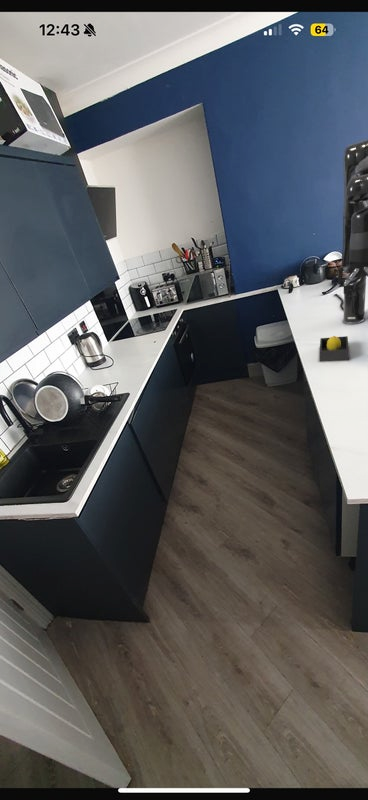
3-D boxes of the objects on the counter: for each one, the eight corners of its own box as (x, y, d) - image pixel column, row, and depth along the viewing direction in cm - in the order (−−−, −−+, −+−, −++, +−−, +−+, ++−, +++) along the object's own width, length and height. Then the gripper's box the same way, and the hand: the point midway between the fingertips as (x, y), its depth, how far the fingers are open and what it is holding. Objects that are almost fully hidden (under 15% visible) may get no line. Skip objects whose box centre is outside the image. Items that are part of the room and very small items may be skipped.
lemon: (339, 356, 132) (339, 338, 128) (325, 355, 135) (325, 338, 131) (341, 350, 136) (342, 333, 132) (328, 350, 139) (328, 333, 135)
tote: (320, 347, 143) (320, 338, 140) (347, 346, 138) (347, 336, 136) (319, 361, 133) (319, 351, 131) (348, 360, 128) (348, 349, 126)
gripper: (386, 238, 103) (381, 287, 112) (338, 247, 110) (338, 293, 118) (388, 243, 98) (384, 294, 106) (338, 252, 104) (337, 299, 113)
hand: (359, 293), depth 112 cm, fingers open, 8 cm apart
